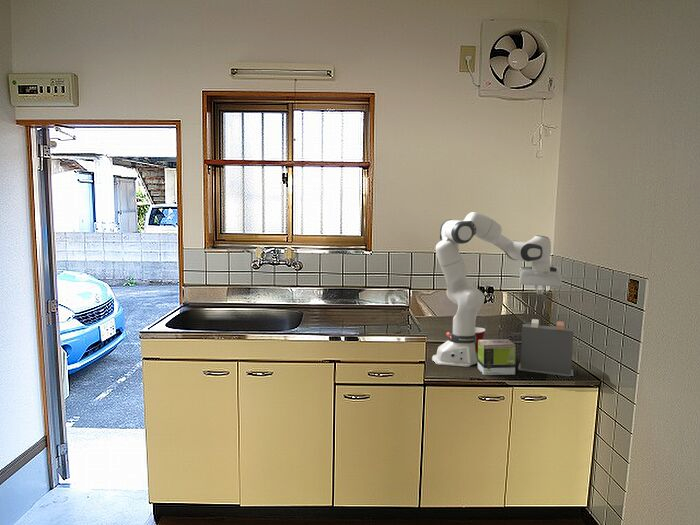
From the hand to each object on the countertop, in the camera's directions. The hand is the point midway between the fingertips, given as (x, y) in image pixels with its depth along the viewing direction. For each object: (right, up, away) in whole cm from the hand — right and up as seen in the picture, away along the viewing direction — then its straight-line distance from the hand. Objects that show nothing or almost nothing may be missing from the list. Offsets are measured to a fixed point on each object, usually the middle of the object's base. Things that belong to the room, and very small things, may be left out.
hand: (539, 294), depth 245 cm
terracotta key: (+1, -19, -21) cm, 28 cm away
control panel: (-4, -35, -18) cm, 40 cm away
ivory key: (-9, -19, -16) cm, 27 cm away
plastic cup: (-30, -32, +14) cm, 46 cm away
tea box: (-28, -36, -19) cm, 50 cm away
